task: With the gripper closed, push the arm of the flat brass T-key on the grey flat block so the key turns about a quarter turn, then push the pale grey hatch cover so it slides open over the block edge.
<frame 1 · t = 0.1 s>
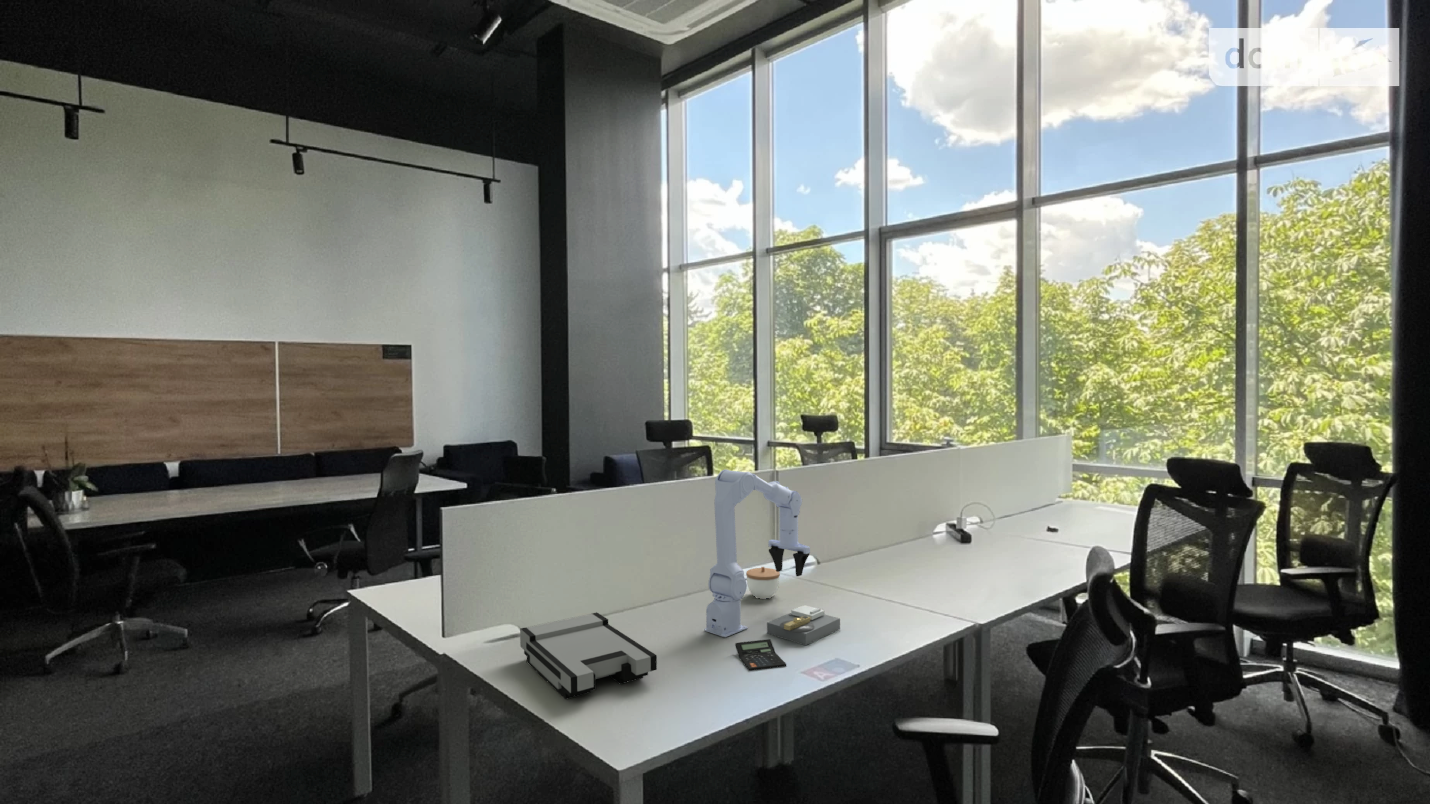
hand: (788, 573, 213), 10 cm above the table, tool pointing down, fingers open, 7 cm apart
calculator: (760, 661, 173), on the table
game console: (585, 673, 166), on the table
grey flat block: (803, 631, 192), on the table
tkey: (797, 621, 187), point 4 cm above the table, hinge at 0.0°
hatch cover: (807, 611, 196), point 4 cm above the table, slide at 0.0 cm
lidded jar: (763, 596, 224), on the table
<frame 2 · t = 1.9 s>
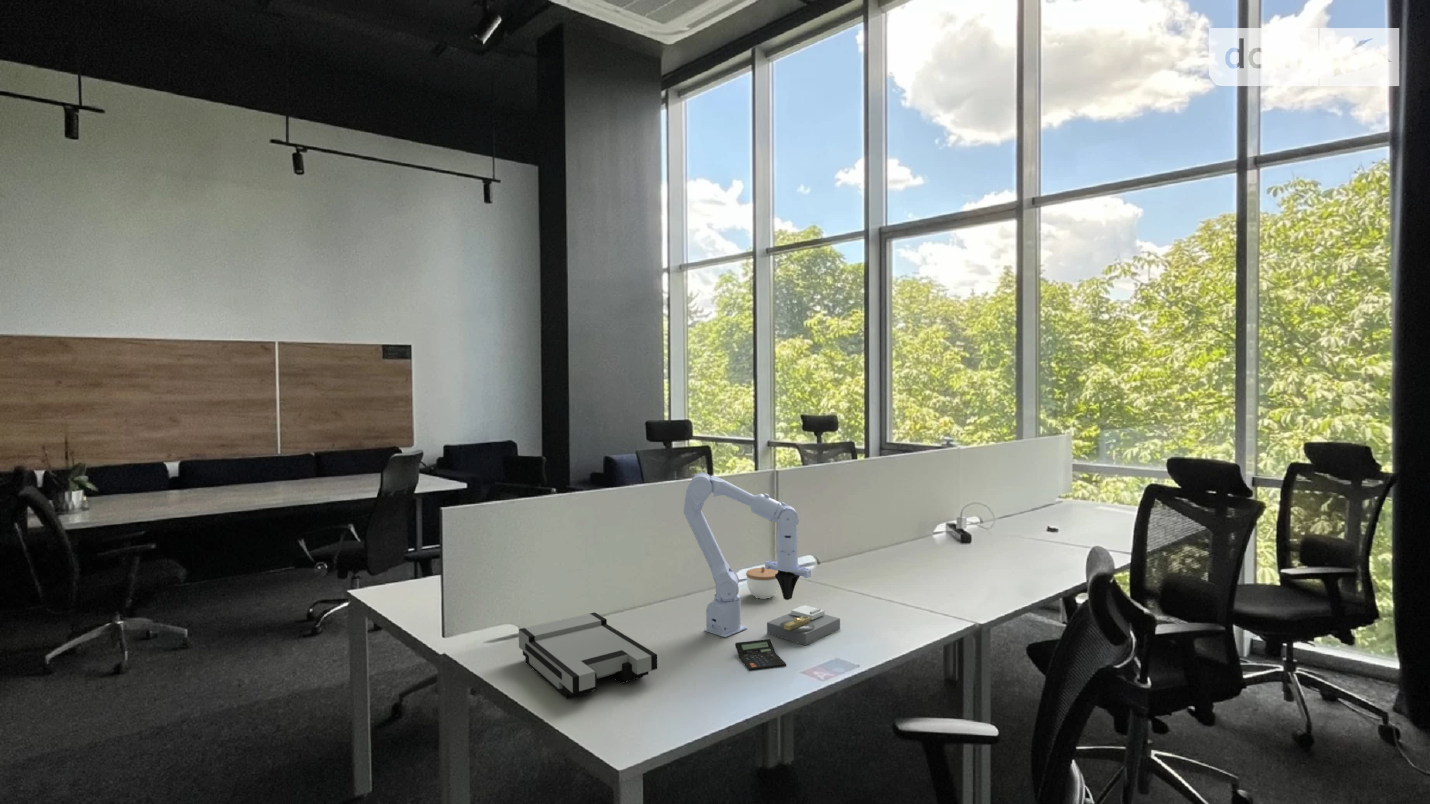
hand: (787, 598, 193), 9 cm above the table, tool pointing down, fingers closed
nothing on the table moved.
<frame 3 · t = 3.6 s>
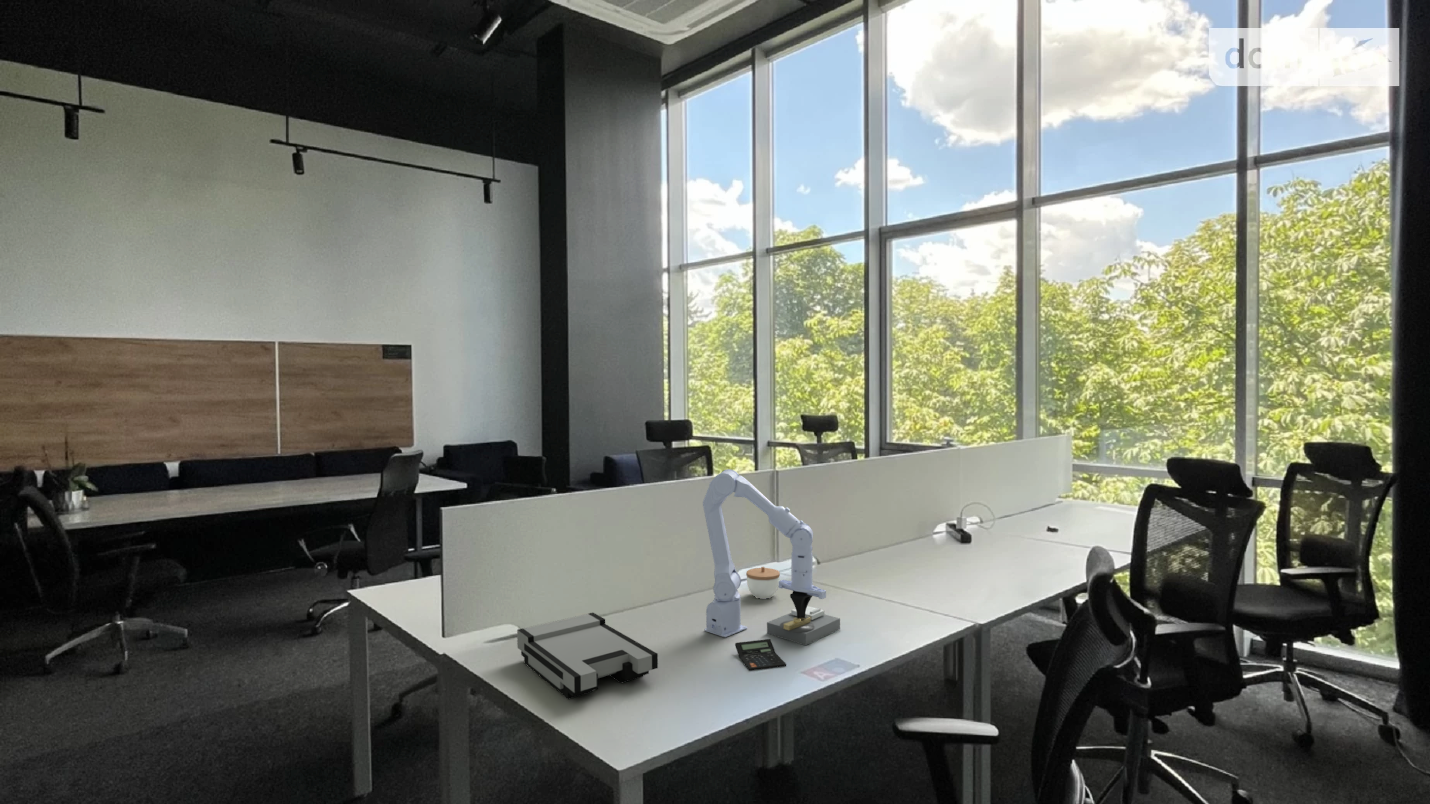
hand: (801, 619, 190), 4 cm above the table, tool pointing down, fingers closed, pressing on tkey
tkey: (797, 621, 187), point 4 cm above the table, hinge at -1.9°, touching gripper
everything else where it was.
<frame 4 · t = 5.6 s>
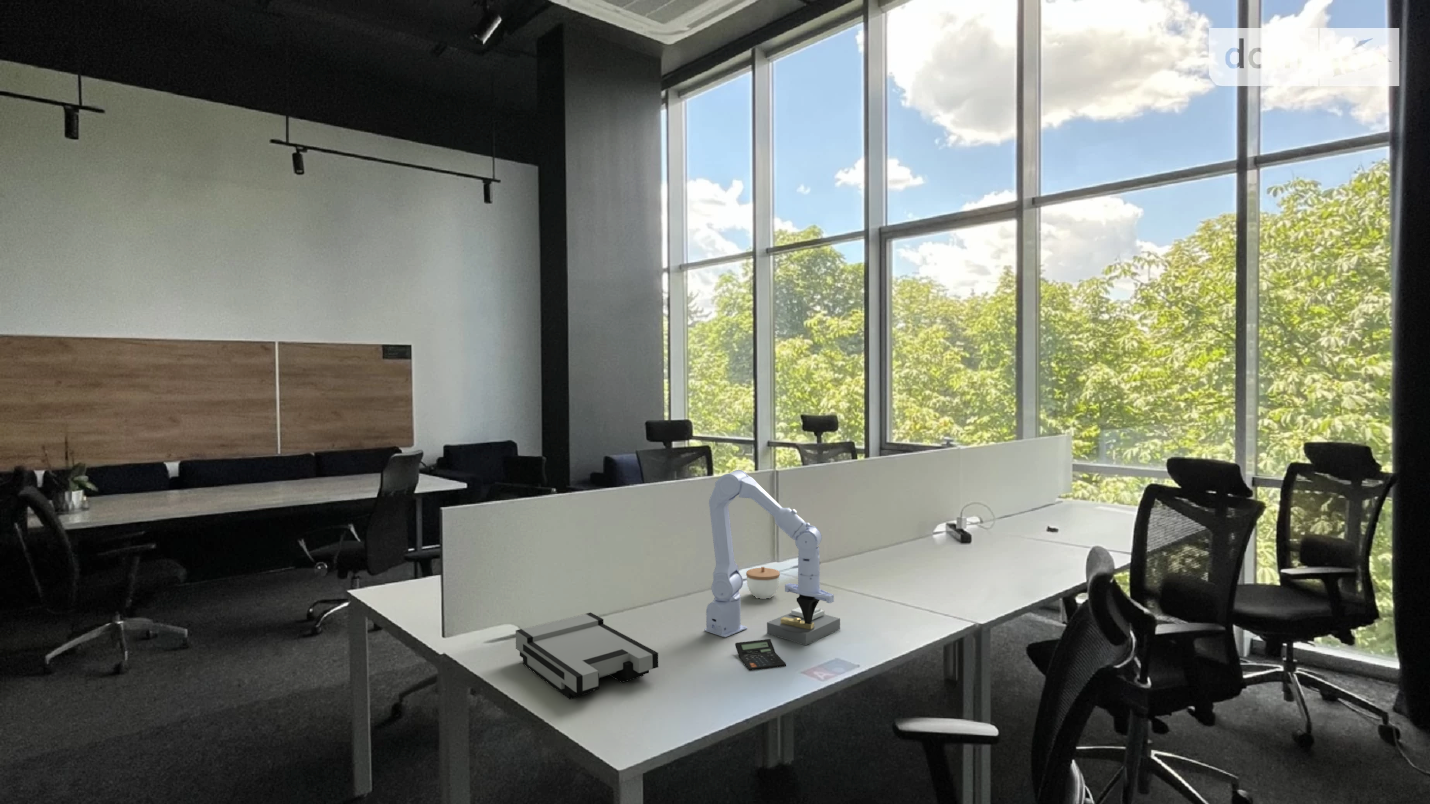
hand: (808, 623, 186), 4 cm above the table, tool pointing down, fingers closed, pressing on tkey
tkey: (797, 621, 187), point 4 cm above the table, hinge at -79.9°, touching gripper
everything else where it was.
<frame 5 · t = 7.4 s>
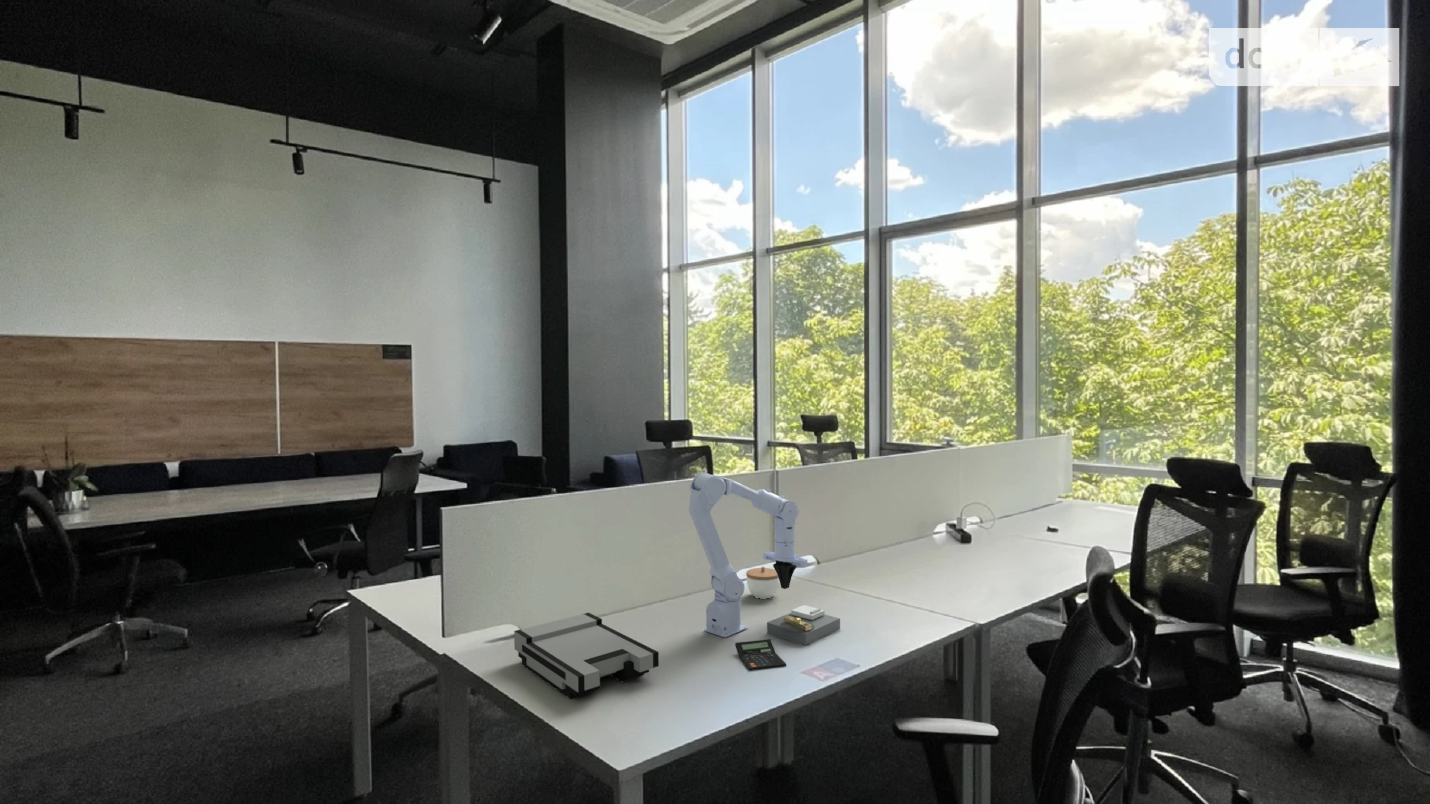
hand: (785, 587, 201), 9 cm above the table, tool pointing down, fingers closed
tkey: (797, 621, 187), point 4 cm above the table, hinge at -102.4°
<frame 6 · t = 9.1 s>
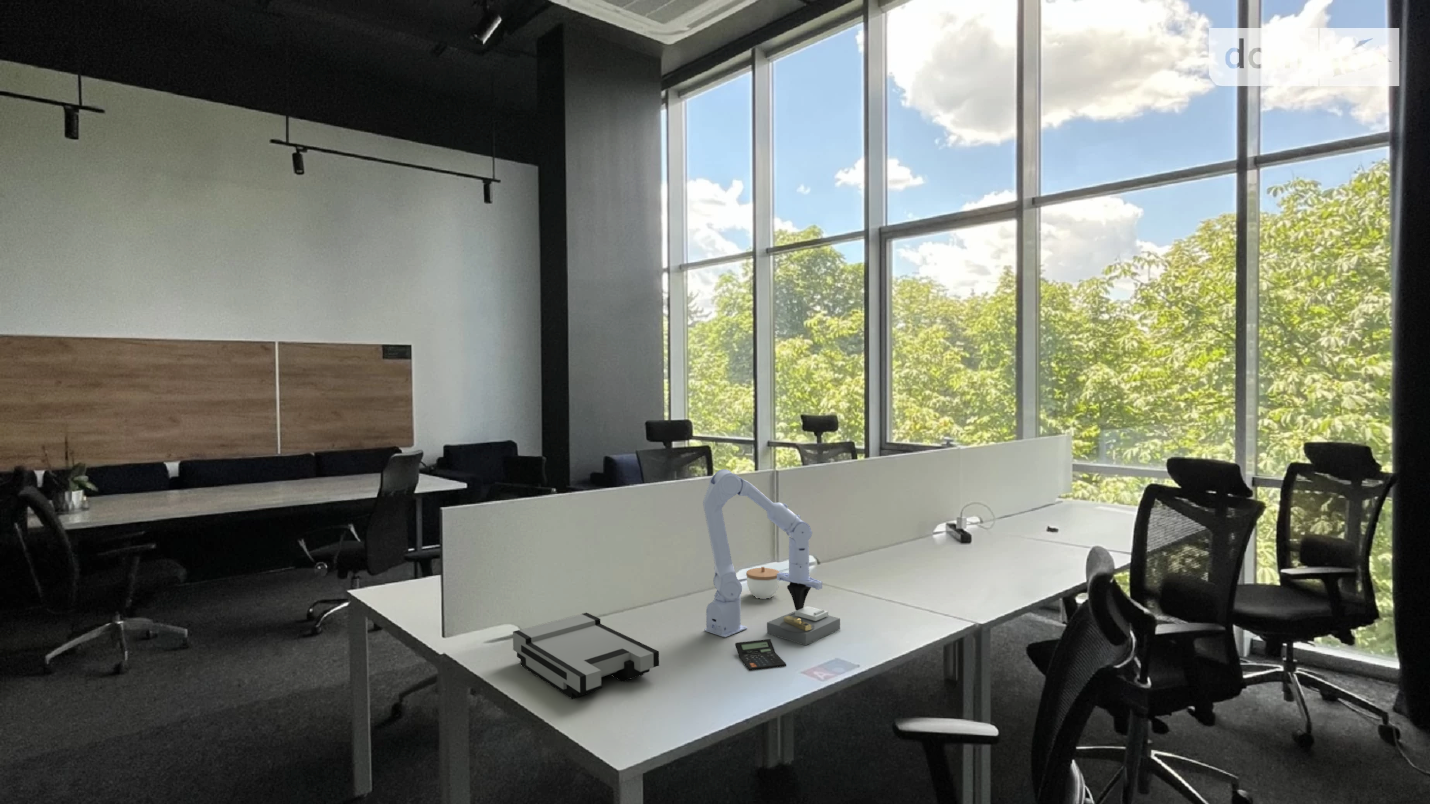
hand: (799, 609, 198), 4 cm above the table, tool pointing down, fingers closed
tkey: (797, 621, 187), point 4 cm above the table, hinge at -103.0°
hatch cover: (811, 612, 195), point 4 cm above the table, slide at 1.3 cm, touching gripper
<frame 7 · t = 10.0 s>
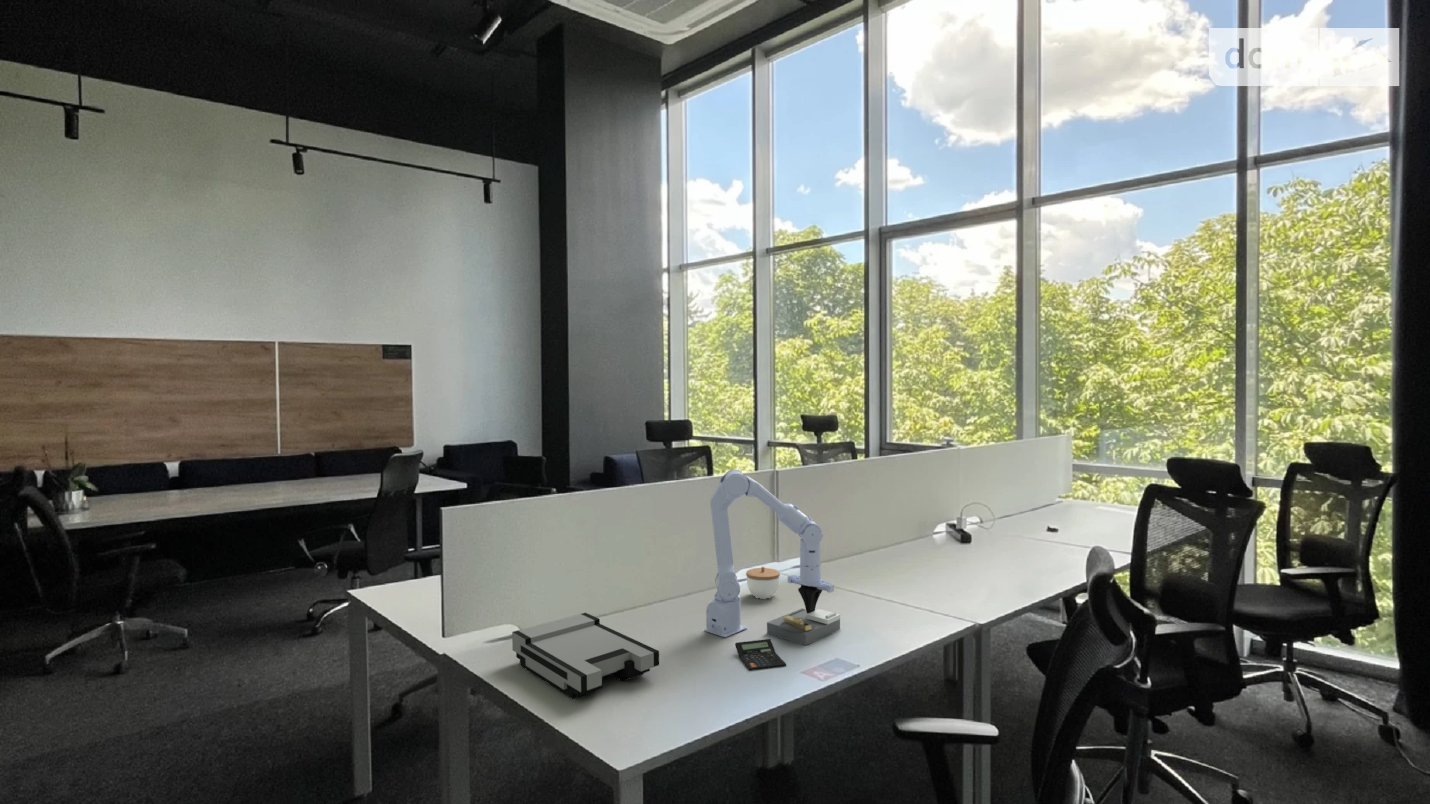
hand: (810, 612, 195), 4 cm above the table, tool pointing down, fingers closed
hatch cover: (823, 615, 192), point 4 cm above the table, slide at 5.2 cm, touching gripper
everything else where it was.
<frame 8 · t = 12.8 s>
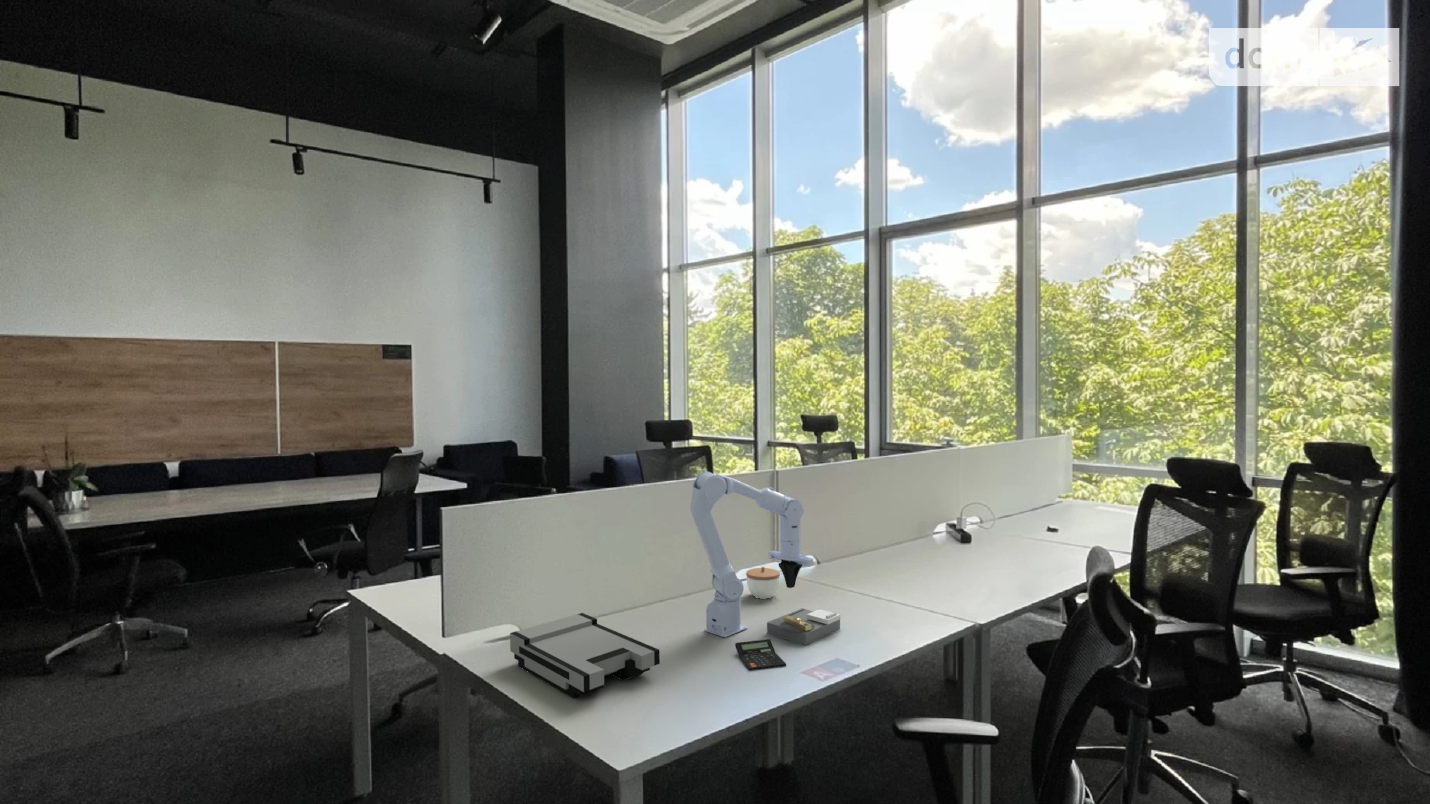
hand: (790, 587, 200), 10 cm above the table, tool pointing down, fingers closed
hatch cover: (823, 615, 192), point 4 cm above the table, slide at 5.3 cm
at the end: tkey at -103° (first picture: +0°); hatch cover slide at 5.3 cm; the gripper is holding nothing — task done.
